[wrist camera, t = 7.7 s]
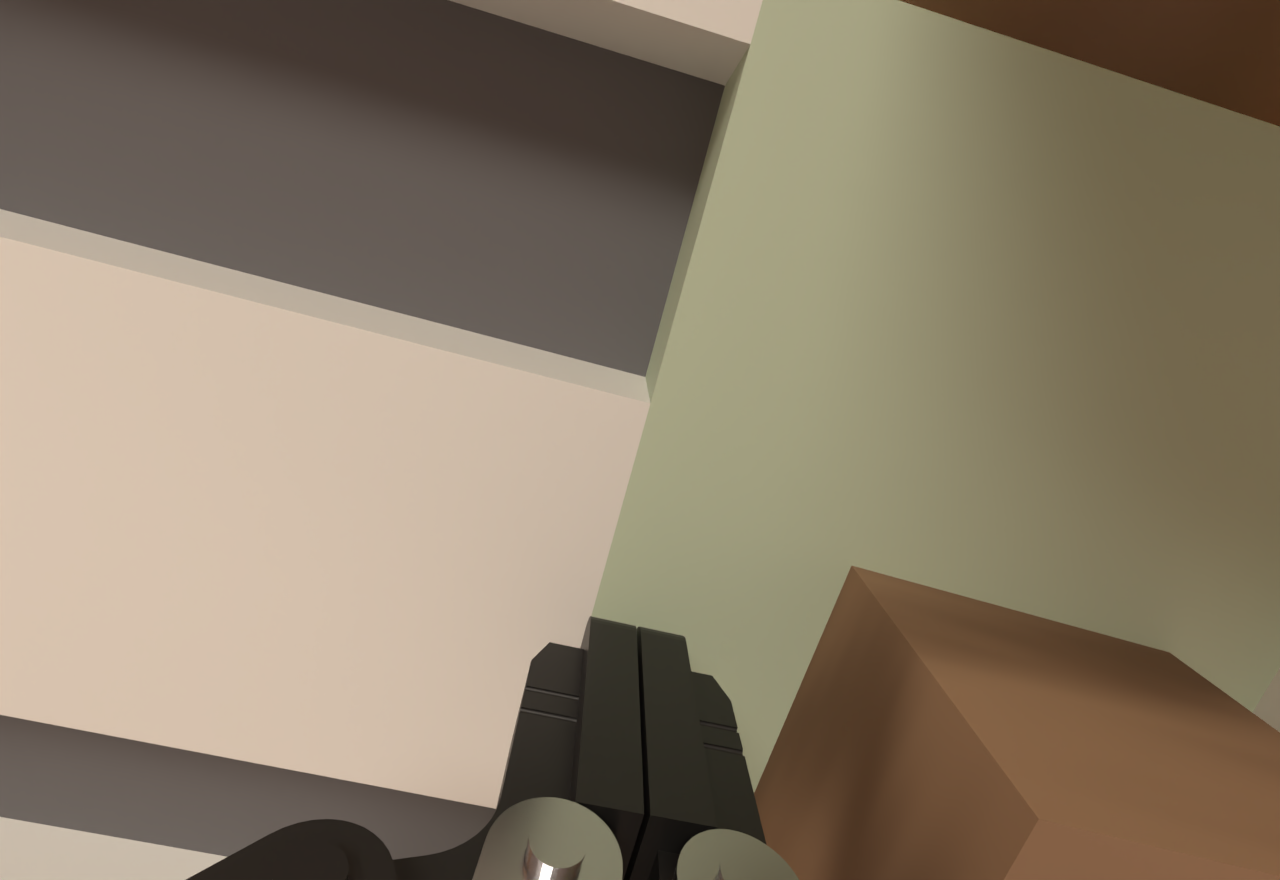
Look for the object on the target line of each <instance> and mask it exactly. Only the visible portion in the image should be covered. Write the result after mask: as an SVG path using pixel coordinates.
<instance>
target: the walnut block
mask: <svg viewBox="0 0 1280 880" xmlns="http://www.w3.org/2000/svg"><path fill="white" fill-rule="evenodd" d="M754 796H755V800H756V804H757V808H758V812H759V816H760V820H761V824H762V828H763V832H764V836H765V840H766V845H767V846H769V847H770V848H771V849H773V850H774V851H775V852H776V853H778V854H779V855H780V856H781V857H782V858H783V859H784V860H785V861H786V862H787V863H788V865H789V866H790V867H791V869H792V870H793V871H794V872H795V874H796V876H797V877H798V879H799V880H1280V732H1278V731H1277V730H1276V729H1274V728H1273V727H1271V726H1270V725H1269V724H1267V723H1266V722H1265V721H1263V720H1262V719H1260V718H1259V717H1258V716H1256V715H1255V714H1254V713H1252V712H1251V711H1249V710H1248V709H1247V708H1245V707H1244V706H1243V705H1241V704H1240V703H1238V702H1237V701H1236V700H1234V699H1233V698H1232V697H1230V696H1229V695H1227V694H1226V693H1225V692H1223V691H1222V690H1221V689H1219V688H1218V687H1216V686H1215V685H1214V684H1212V683H1211V682H1210V681H1208V680H1207V679H1205V678H1204V677H1203V676H1201V675H1200V674H1199V673H1197V672H1196V671H1194V670H1193V669H1192V668H1190V667H1189V666H1188V665H1186V664H1185V663H1183V662H1182V661H1181V660H1179V659H1178V658H1177V657H1175V656H1174V655H1172V654H1171V653H1170V652H1166V651H1163V650H1159V649H1155V648H1152V647H1148V646H1144V645H1141V644H1137V643H1133V642H1130V641H1126V640H1122V639H1119V638H1115V637H1111V636H1108V635H1104V634H1100V633H1097V632H1093V631H1089V630H1086V629H1082V628H1078V627H1075V626H1071V625H1068V624H1064V623H1060V622H1057V621H1053V620H1049V619H1046V618H1042V617H1038V616H1035V615H1031V614H1027V613H1024V612H1020V611H1016V610H1013V609H1009V608H1005V607H1002V606H998V605H994V604H991V603H987V602H983V601H980V600H976V599H972V598H969V597H965V596H961V595H958V594H954V593H950V592H947V591H943V590H939V589H936V588H932V587H928V586H925V585H921V584H918V583H914V582H910V581H907V580H903V579H899V578H896V577H892V576H888V575H885V574H881V573H877V572H874V571H870V570H866V569H863V568H859V567H855V566H851V568H850V570H849V573H848V575H847V577H846V580H845V582H844V584H843V587H842V589H841V591H840V594H839V596H838V598H837V601H836V603H835V605H834V608H833V610H832V612H831V615H830V617H829V619H828V622H827V624H826V626H825V629H824V631H823V633H822V636H821V638H820V640H819V643H818V645H817V647H816V650H815V652H814V654H813V657H812V659H811V661H810V664H809V666H808V668H807V671H806V673H805V675H804V678H803V680H802V682H801V685H800V687H799V689H798V692H797V694H796V697H795V699H794V701H793V704H792V706H791V708H790V711H789V713H788V715H787V718H786V720H785V722H784V725H783V727H782V729H781V732H780V734H779V736H778V739H777V741H776V743H775V746H774V748H773V750H772V753H771V755H770V757H769V760H768V762H767V764H766V767H765V769H764V771H763V774H762V776H761V778H760V781H759V783H758V785H757V788H756V790H755V792H754Z"/></svg>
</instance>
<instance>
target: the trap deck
mask: <svg viewBox="0 0 1280 880" xmlns="http://www.w3.org/2000/svg"><path fill="white" fill-rule="evenodd" d="M851 566H855V567H859V568H863V569H866V570H870V571H874V572H877V573H881V574H885V575H888V576H892V577H896V578H899V579H903V580H907V581H910V582H914V583H918V584H921V585H925V586H928V587H932V588H936V589H939V590H943V591H947V592H950V593H954V594H958V595H961V596H965V597H969V598H972V599H976V600H980V601H983V602H987V603H991V604H994V605H998V606H1002V607H1005V608H1009V609H1013V610H1016V611H1020V612H1024V613H1027V614H1031V615H1035V616H1038V617H1042V618H1046V619H1049V620H1053V621H1057V622H1060V623H1064V624H1068V625H1071V626H1075V627H1078V628H1082V629H1086V630H1089V631H1093V632H1097V633H1100V634H1104V635H1108V636H1111V637H1115V638H1119V639H1122V640H1126V641H1130V642H1133V643H1137V644H1141V645H1144V646H1148V647H1152V648H1155V649H1159V650H1163V651H1166V652H1170V653H1171V654H1172V655H1174V656H1175V657H1177V658H1178V659H1179V660H1181V661H1182V662H1183V663H1185V664H1186V665H1188V666H1189V667H1190V668H1192V669H1193V670H1194V671H1196V672H1197V673H1199V674H1200V675H1201V676H1203V677H1204V678H1205V679H1207V680H1208V681H1210V682H1211V683H1212V684H1214V685H1215V686H1216V687H1218V688H1219V689H1221V690H1222V691H1223V692H1225V693H1226V694H1227V695H1229V696H1230V697H1232V698H1233V699H1234V700H1236V701H1237V702H1238V703H1240V704H1241V705H1243V706H1244V707H1245V708H1247V709H1248V710H1249V711H1251V712H1252V713H1254V714H1255V715H1256V716H1258V717H1259V718H1260V719H1262V720H1263V721H1265V722H1266V723H1267V724H1269V725H1270V726H1271V727H1273V728H1274V729H1276V730H1277V731H1278V732H1280V126H1277V125H1274V124H1271V123H1268V122H1265V121H1262V120H1259V119H1256V118H1253V117H1250V116H1247V115H1244V114H1241V113H1238V112H1235V111H1231V110H1228V109H1225V108H1222V107H1219V106H1216V105H1213V104H1210V103H1207V102H1204V101H1201V100H1198V99H1195V98H1192V97H1189V96H1186V95H1183V94H1180V93H1177V92H1174V91H1171V90H1168V89H1165V88H1162V87H1159V86H1156V85H1153V84H1150V83H1147V82H1144V81H1141V80H1138V79H1135V78H1132V77H1129V76H1126V75H1123V74H1120V73H1117V72H1114V71H1111V70H1108V69H1105V68H1102V67H1099V66H1096V65H1093V64H1090V63H1087V62H1084V61H1081V60H1078V59H1075V58H1072V57H1068V56H1065V55H1062V54H1059V53H1056V52H1053V51H1050V50H1047V49H1044V48H1041V47H1038V46H1035V45H1032V44H1029V43H1026V42H1023V41H1020V40H1017V39H1014V38H1011V37H1008V36H1005V35H1002V34H999V33H996V32H993V31H990V30H987V29H984V28H981V27H978V26H975V25H972V24H969V23H966V22H963V21H960V20H957V19H954V18H951V17H948V16H945V15H942V14H939V13H936V12H933V11H930V10H927V9H924V8H921V7H918V6H915V5H912V4H909V3H905V2H902V1H899V0H0V880H186V879H188V878H190V877H191V876H193V875H195V874H197V873H199V872H201V871H202V870H204V869H206V868H208V867H210V866H212V865H213V864H215V863H217V862H219V861H221V860H223V859H225V858H226V857H228V856H230V855H232V854H234V853H236V852H237V851H239V850H241V849H243V848H245V847H247V846H248V845H250V844H252V843H254V842H256V841H258V840H259V839H261V838H263V837H265V836H267V835H269V834H271V833H273V832H275V831H277V830H279V829H281V828H284V827H286V826H290V825H293V824H296V823H299V822H304V821H309V820H317V819H335V820H343V821H348V822H352V823H355V824H357V825H360V826H362V827H365V828H366V829H368V830H369V831H371V832H372V833H374V834H375V835H376V836H377V837H378V838H379V839H380V840H381V841H383V843H384V844H385V846H386V847H387V849H388V850H389V852H390V854H391V857H392V859H393V860H394V859H402V858H409V857H417V856H424V855H430V854H435V853H440V852H443V851H446V850H449V849H452V848H455V847H457V846H459V845H461V844H463V843H465V842H466V841H468V840H469V839H471V838H472V837H474V836H475V835H477V834H478V833H479V832H480V831H481V830H482V829H483V828H484V827H485V826H486V825H487V824H488V822H489V821H490V820H491V818H492V817H493V815H494V813H495V811H496V807H497V803H498V798H499V794H500V789H501V785H502V780H503V776H504V772H505V767H506V763H507V758H508V754H509V749H510V745H511V741H512V737H513V733H514V729H515V725H516V720H517V716H518V712H519V708H520V704H521V700H522V696H523V692H524V688H525V684H526V679H527V675H528V671H529V667H530V663H531V660H532V659H533V658H534V657H535V656H536V655H537V654H538V653H539V652H540V651H541V650H542V649H543V648H544V647H545V646H546V645H547V644H548V643H549V642H551V643H556V644H561V645H566V646H571V647H576V648H580V647H581V644H582V640H583V636H584V632H585V629H586V625H587V622H588V619H589V617H590V616H592V617H597V618H601V619H606V620H611V621H616V622H620V623H625V624H630V625H634V626H636V629H637V628H638V627H639V626H640V627H645V628H649V629H654V630H659V631H663V632H668V633H673V634H678V635H682V636H684V637H685V639H686V643H687V649H688V655H689V661H690V667H691V671H692V672H697V673H702V674H707V675H711V676H713V677H714V679H715V680H716V681H717V683H718V684H719V685H720V687H721V688H722V689H723V691H724V692H725V693H726V695H727V696H728V697H729V699H730V700H731V703H732V707H733V711H734V715H735V719H736V723H737V727H738V728H737V733H739V735H740V739H741V743H742V747H743V756H745V759H746V763H747V768H748V772H749V776H750V780H751V784H752V788H753V792H755V790H756V788H757V785H758V783H759V781H760V778H761V776H762V774H763V771H764V769H765V767H766V764H767V762H768V760H769V757H770V755H771V753H772V750H773V748H774V746H775V743H776V741H777V739H778V736H779V734H780V732H781V729H782V727H783V725H784V722H785V720H786V718H787V715H788V713H789V711H790V708H791V706H792V704H793V701H794V699H795V697H796V694H797V692H798V689H799V687H800V685H801V682H802V680H803V678H804V675H805V673H806V671H807V668H808V666H809V664H810V661H811V659H812V657H813V654H814V652H815V650H816V647H817V645H818V643H819V640H820V638H821V636H822V633H823V631H824V629H825V626H826V624H827V622H828V619H829V617H830V615H831V612H832V610H833V608H834V605H835V603H836V601H837V598H838V596H839V594H840V591H841V589H842V587H843V584H844V582H845V580H846V577H847V575H848V573H849V570H850V568H851Z"/></svg>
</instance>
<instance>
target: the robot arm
mask: <svg viewBox="0 0 1280 880" xmlns="http://www.w3.org/2000/svg"><path fill="white" fill-rule="evenodd" d="M737 728H738V727H737V723H736V719H735V715H734V711H733V707H732V703H731V700H730V699H729V697H728V696H727V695H726V693H725V692H724V691H723V689H722V688H721V687H720V685H719V684H718V683H717V681H716V680H715V679H714V677H713V676H711V675H707V674H702V673H697V672H692V671H691V667H690V661H689V655H688V649H687V643H686V639H685V637H684V636H682V635H678V634H673V633H668V632H663V631H659V630H654V629H649V628H645V627H640V626H639V627H638V628H637V629H636V626H634V625H630V624H625V623H620V622H616V621H611V620H606V619H601V618H597V617H592V616H590V617H589V619H588V622H587V625H586V629H585V632H584V636H583V640H582V644H581V647H580V648H576V647H571V646H566V645H561V644H556V643H551V642H549V643H548V644H547V645H546V646H545V647H544V648H543V649H542V650H541V651H540V652H539V653H538V654H537V655H536V656H535V657H534V658H533V659H532V660H531V663H530V667H529V671H528V675H527V679H526V684H525V688H524V692H523V696H522V700H521V704H520V708H519V712H518V716H517V720H516V725H515V729H514V733H513V737H512V741H511V745H510V749H509V754H508V758H507V763H506V767H505V772H504V776H503V780H502V785H501V789H500V794H499V798H498V803H497V807H496V811H495V813H494V815H493V817H492V818H491V820H490V821H489V822H488V824H487V825H486V826H485V827H484V828H483V829H482V830H481V831H480V832H479V833H478V834H477V835H475V836H474V837H472V838H471V839H469V840H468V841H466V842H465V843H463V844H461V845H459V846H457V847H455V848H452V849H449V850H446V851H443V852H440V853H435V854H430V855H424V856H417V857H409V858H402V859H394V860H393V859H392V857H391V854H390V852H389V850H388V849H387V847H386V846H385V844H384V843H383V841H381V840H380V839H379V838H378V837H377V836H376V835H375V834H374V833H372V832H371V831H369V830H368V829H366V828H365V827H362V826H360V825H357V824H355V823H352V822H348V821H343V820H335V819H317V820H309V821H304V822H299V823H296V824H293V825H290V826H286V827H284V828H281V829H279V830H277V831H275V832H273V833H271V834H269V835H267V836H265V837H263V838H261V839H259V840H258V841H256V842H254V843H252V844H250V845H248V846H247V847H245V848H243V849H241V850H239V851H237V852H236V853H234V854H232V855H230V856H228V857H226V858H225V859H223V860H221V861H219V862H217V863H215V864H213V865H212V866H210V867H208V868H206V869H204V870H202V871H201V872H199V873H197V874H195V875H193V876H191V877H190V878H188V879H186V880H799V879H798V877H797V876H796V874H795V872H794V871H793V870H792V869H791V867H790V866H789V865H788V863H787V862H786V861H785V860H784V859H783V858H782V857H781V856H780V855H779V854H778V853H776V852H775V851H774V850H773V849H771V848H770V847H769V846H767V845H766V840H765V836H764V832H763V828H762V824H761V820H760V816H759V812H758V808H757V804H756V800H755V796H754V792H753V788H752V784H751V780H750V776H749V772H748V768H747V763H746V759H745V756H743V747H742V743H741V739H740V735H739V733H737Z"/></svg>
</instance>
